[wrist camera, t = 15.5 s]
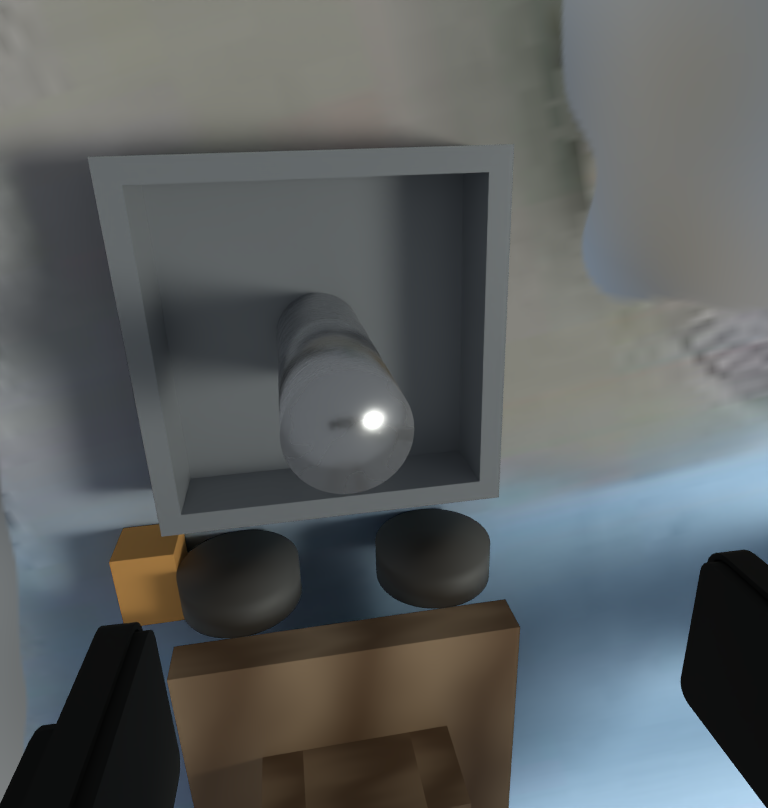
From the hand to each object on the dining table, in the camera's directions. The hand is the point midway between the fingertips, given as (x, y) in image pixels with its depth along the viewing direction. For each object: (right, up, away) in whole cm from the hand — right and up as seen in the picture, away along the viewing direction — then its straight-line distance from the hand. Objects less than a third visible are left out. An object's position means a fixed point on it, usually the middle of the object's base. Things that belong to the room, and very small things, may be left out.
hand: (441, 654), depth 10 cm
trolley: (-3, -13, +28) cm, 31 cm away
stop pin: (-4, +8, +19) cm, 21 cm away
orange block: (-13, -4, +23) cm, 27 cm away
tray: (-4, +8, +20) cm, 22 cm away
